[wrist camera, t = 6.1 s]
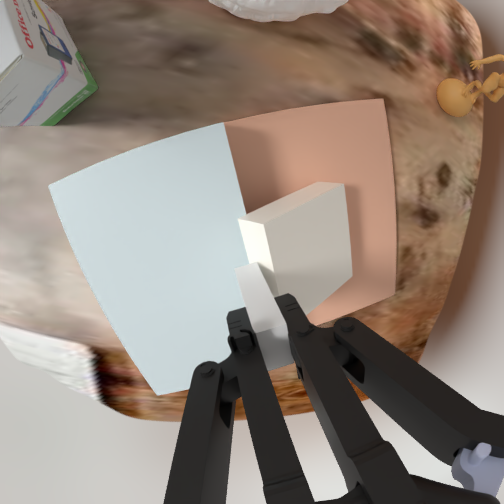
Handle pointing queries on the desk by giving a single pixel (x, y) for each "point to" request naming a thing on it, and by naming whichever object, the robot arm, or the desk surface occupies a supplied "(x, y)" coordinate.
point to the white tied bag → (277, 8)
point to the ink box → (38, 66)
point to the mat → (328, 170)
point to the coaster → (302, 243)
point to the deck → (161, 249)
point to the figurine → (459, 95)
